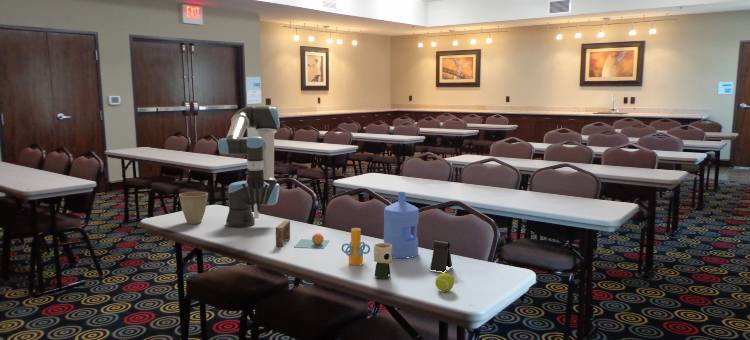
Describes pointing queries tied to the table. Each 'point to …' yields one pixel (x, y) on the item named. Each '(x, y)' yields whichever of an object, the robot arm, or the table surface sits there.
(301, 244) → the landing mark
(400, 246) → the water jug
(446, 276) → the tennis ball
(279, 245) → the bridge
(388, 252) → the character mug
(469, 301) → the table surface
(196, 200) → the plant pot
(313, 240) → the ball
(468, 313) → the table surface
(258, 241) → the table surface
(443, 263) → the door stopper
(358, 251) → the orange post with rings
